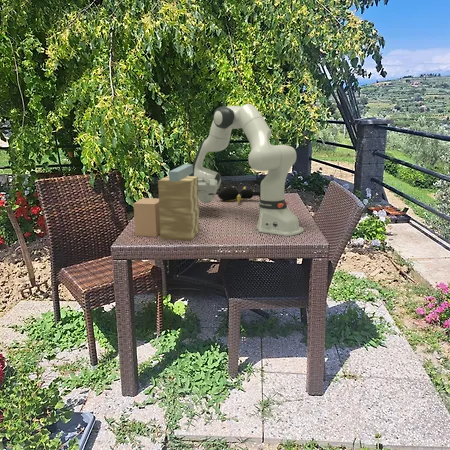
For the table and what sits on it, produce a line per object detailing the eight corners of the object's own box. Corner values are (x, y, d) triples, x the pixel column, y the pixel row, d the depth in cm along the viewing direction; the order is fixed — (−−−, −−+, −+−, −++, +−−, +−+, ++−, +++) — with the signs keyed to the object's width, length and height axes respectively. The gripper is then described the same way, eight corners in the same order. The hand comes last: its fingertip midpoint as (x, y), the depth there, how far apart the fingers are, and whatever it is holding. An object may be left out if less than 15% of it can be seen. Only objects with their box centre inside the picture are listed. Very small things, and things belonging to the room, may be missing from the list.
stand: (170, 230, 210) (168, 175, 203) (199, 231, 207) (197, 176, 200) (160, 238, 196) (158, 180, 190) (191, 240, 194) (189, 181, 187)
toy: (269, 196, 286) (223, 197, 291) (268, 182, 283) (222, 183, 289) (264, 207, 256) (213, 208, 262) (264, 192, 254) (212, 192, 259)
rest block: (144, 228, 213) (143, 198, 209) (164, 229, 211) (163, 198, 207) (135, 235, 202) (133, 203, 198) (156, 236, 200) (154, 204, 196)
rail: (184, 172, 212) (184, 164, 210) (192, 172, 211) (192, 164, 210) (169, 180, 189) (168, 171, 188) (178, 181, 188) (178, 171, 187)
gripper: (182, 182, 238) (175, 172, 225) (220, 183, 234) (214, 173, 221) (181, 193, 236) (174, 184, 223) (218, 194, 233) (213, 185, 219)
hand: (194, 178), depth 222 cm, fingers open, 8 cm apart
